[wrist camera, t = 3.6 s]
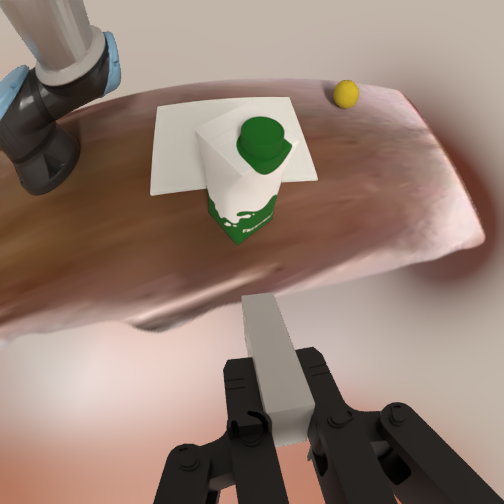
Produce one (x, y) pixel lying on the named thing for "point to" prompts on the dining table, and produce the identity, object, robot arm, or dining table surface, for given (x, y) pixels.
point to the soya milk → (244, 167)
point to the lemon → (346, 94)
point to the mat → (187, 149)
